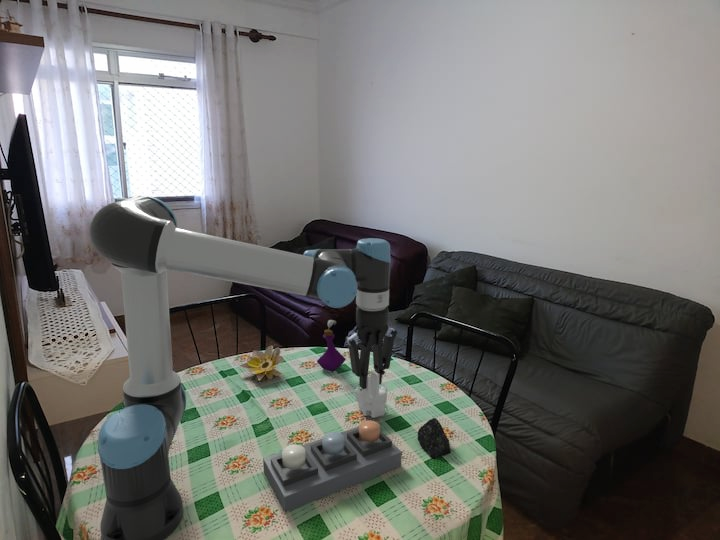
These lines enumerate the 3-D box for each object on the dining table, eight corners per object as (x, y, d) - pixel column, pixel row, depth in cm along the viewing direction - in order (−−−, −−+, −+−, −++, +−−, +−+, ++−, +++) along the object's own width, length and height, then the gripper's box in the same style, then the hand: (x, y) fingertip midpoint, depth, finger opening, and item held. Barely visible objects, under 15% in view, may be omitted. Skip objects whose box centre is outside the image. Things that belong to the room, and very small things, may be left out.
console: (285, 512, 94) (284, 490, 92) (263, 472, 105) (262, 452, 104) (401, 466, 108) (401, 446, 107) (371, 435, 120) (371, 417, 119)
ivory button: (287, 472, 97) (287, 462, 96) (279, 458, 101) (278, 449, 101) (309, 464, 100) (309, 454, 99) (300, 451, 104) (300, 442, 103)
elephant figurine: (366, 428, 123) (367, 399, 121) (349, 406, 134) (349, 379, 132) (396, 420, 127) (397, 392, 125) (377, 399, 138) (378, 373, 135)
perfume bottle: (333, 375, 152) (333, 326, 148) (316, 369, 156) (316, 321, 152) (346, 367, 158) (346, 320, 154) (329, 361, 162) (329, 315, 158)
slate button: (328, 457, 102) (328, 448, 101) (318, 445, 106) (318, 436, 106) (348, 450, 104) (348, 441, 104) (338, 438, 109) (338, 429, 108)
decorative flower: (232, 366, 154) (238, 339, 152) (261, 364, 162) (266, 338, 160) (254, 386, 143) (260, 357, 142) (283, 382, 151) (289, 355, 150)
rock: (431, 461, 110) (432, 441, 109) (411, 438, 120) (412, 419, 118) (455, 455, 113) (456, 435, 112) (434, 432, 122) (435, 413, 121)
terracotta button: (365, 444, 107) (365, 435, 106) (355, 432, 111) (355, 424, 110) (383, 437, 109) (384, 429, 109) (372, 427, 114) (372, 418, 113)
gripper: (352, 316, 95) (351, 413, 101) (408, 305, 102) (404, 397, 108) (336, 306, 101) (336, 398, 107) (390, 297, 109) (387, 383, 114)
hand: (370, 397), depth 108 cm, fingers closed
